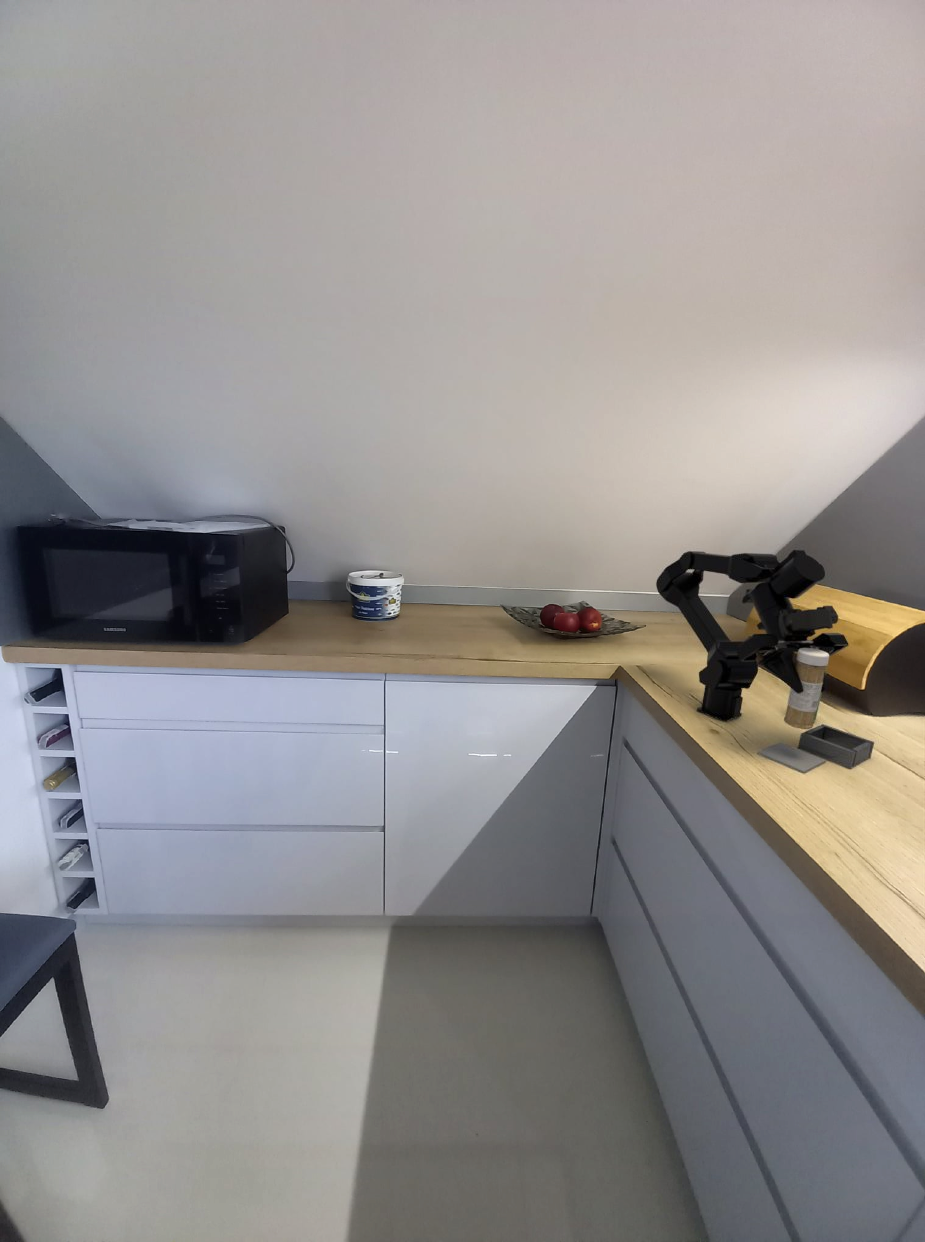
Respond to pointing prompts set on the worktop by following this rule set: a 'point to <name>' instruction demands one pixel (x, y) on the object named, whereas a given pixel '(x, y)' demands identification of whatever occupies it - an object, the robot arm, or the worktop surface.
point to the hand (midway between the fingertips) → (812, 692)
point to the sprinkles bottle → (806, 688)
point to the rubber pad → (791, 757)
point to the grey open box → (836, 745)
